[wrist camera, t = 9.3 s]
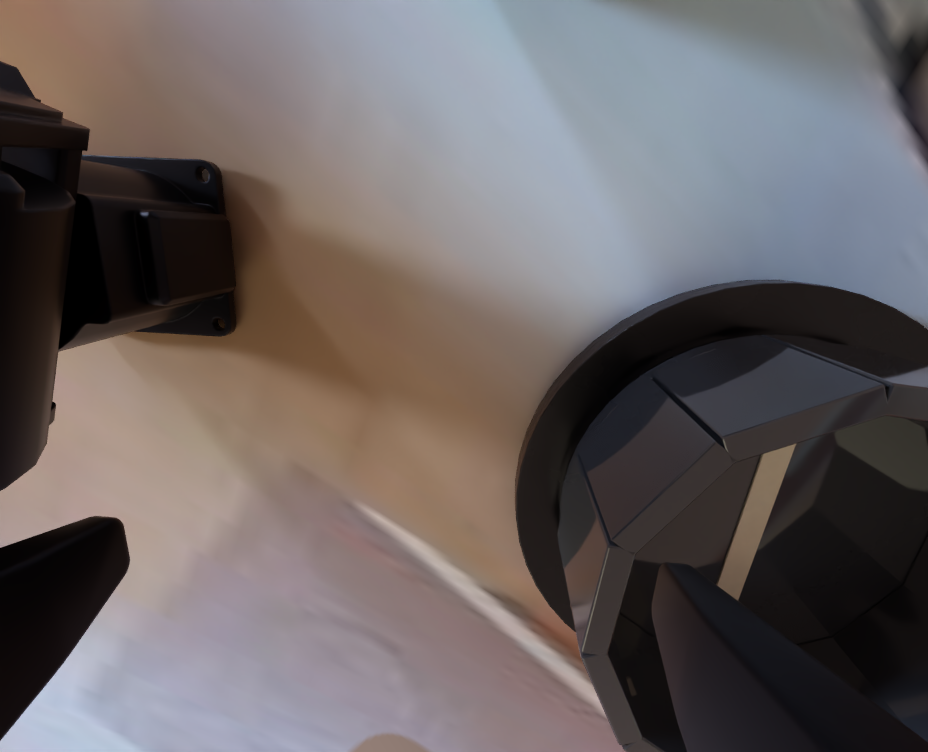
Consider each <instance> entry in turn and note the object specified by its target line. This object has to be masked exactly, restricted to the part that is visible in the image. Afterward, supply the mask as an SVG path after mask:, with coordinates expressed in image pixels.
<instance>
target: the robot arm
mask: <svg viewBox="0 0 928 752" xmlns="http://www.w3.org/2000/svg"><path fill="white" fill-rule="evenodd" d="M89 132H90V129H89V128H86V127H84V126H81V125H79V124H76V123H74V122H71V121H69V120H66V119H64V118H63V112H61V111H59V110H56V109H54V108H52V107H49V106H47V105H45V104H43V103H41V100H39V99H37V98H35V97H34V95H33V93H32V92H31V90H30V88H29V87H28V85H27V84H26V82H25V80H24V79H23V77H22V75H21V74H20V72H19V70H18V69H17V68H16V67H14V66H11V65H9V64H6V63H4V62H1V61H0V491H1V490H3V489H5V488H6V487H8V486H9V485H10V484H11V483H13V482H14V481H15V480H17V479H18V478H19V477H21V476H22V475H23V474H24V473H26V472H27V471H28V470H30V469H31V468H32V467H33V466H35V465H36V463H37V461H38V459H39V457H40V455H41V453H42V451H43V450H44V448H45V446H46V444H47V437H48V429H49V425H50V424H51V423H52V422H53V421H54V417H55V409H56V404H55V403H54V402H52V399H53V390H54V382H55V374H56V365H57V357H58V352H59V351H63V350H66V349H70V348H74V347H77V346H81V345H85V344H88V343H92V342H96V341H99V340H103V339H107V338H110V337H114V336H118V335H121V334H125V333H129V332H133V331H136V332H153V333H170V334H187V335H204V336H225V335H228V334H230V333H232V332H233V331H234V330H235V328H236V315H235V304H234V294H233V289H234V287H235V286H236V280H235V270H234V260H233V249H232V239H231V229H230V222H229V220H228V219H227V218H226V213H225V203H224V193H223V183H222V175H221V172H220V170H219V168H218V167H217V166H216V165H215V164H214V163H212V162H208V161H204V160H197V159H171V158H146V157H120V156H95V155H82V150H85V151H87V148H88V140H89ZM204 169H206V170H207V171H208V173H209V179H208V180H207V181H206V182H205V181H204V180H203V177H202V172H203V171H204ZM219 318H221V319H222V320H223V321H224V323H225V328H222V327H221V326H220V325H219V323H218V320H219ZM129 563H130V556H129V551H128V546H127V540H126V535H125V530H124V526H123V523H122V522H121V521H120V520H119V519H117V518H113V517H101V516H93V517H89V518H86V519H83V520H80V521H77V522H74V523H71V524H68V525H65V526H63V527H60V528H57V529H54V530H51V531H48V532H45V533H42V534H39V535H36V536H33V537H31V538H28V539H25V540H22V541H19V542H16V543H13V544H10V545H7V546H4V547H2V548H0V741H1V739H2V738H3V737H4V736H5V734H6V733H7V732H8V731H9V730H10V728H11V727H12V726H13V725H14V723H15V722H16V721H17V720H18V719H19V717H20V716H21V715H22V714H23V712H24V711H25V710H26V709H27V708H28V706H29V705H30V704H31V703H32V701H33V700H34V699H35V698H36V696H37V695H38V694H39V693H40V692H41V690H42V689H43V688H44V687H45V685H46V684H47V683H48V682H49V681H50V679H51V678H52V677H53V676H54V674H55V673H56V672H57V670H58V669H59V668H60V667H61V665H62V664H63V663H64V661H65V660H66V659H67V657H68V656H69V655H70V653H71V652H72V650H73V649H74V648H75V646H76V645H77V643H78V642H79V640H80V639H81V638H82V636H83V635H84V633H85V632H86V630H87V629H88V628H89V626H90V625H91V623H92V622H93V620H94V619H95V617H96V616H97V615H98V613H99V612H100V610H101V609H102V607H103V606H104V604H105V603H106V602H107V600H108V599H109V597H110V596H111V594H112V593H113V592H114V590H115V589H116V587H117V586H118V584H119V583H120V581H121V580H122V579H123V577H124V576H125V574H126V572H127V570H128V567H129ZM652 619H653V623H654V628H655V632H656V636H657V640H658V644H659V648H660V653H661V657H662V661H663V665H664V669H665V673H666V678H667V682H668V686H669V690H670V694H671V698H672V703H673V707H674V710H675V714H676V718H677V722H678V725H679V728H680V731H681V734H682V737H683V740H684V743H685V746H686V749H687V752H928V742H927V741H926V740H924V739H923V738H922V737H920V736H919V735H918V734H916V733H915V732H914V731H912V730H911V729H910V728H908V727H907V726H906V725H904V724H903V723H902V722H900V721H899V720H898V719H896V718H895V717H894V716H892V715H891V714H889V713H888V712H887V711H885V710H884V709H883V708H881V707H880V706H879V705H877V704H876V703H875V702H873V701H872V700H871V699H869V698H868V697H867V696H865V695H864V694H863V693H861V692H860V691H859V690H857V689H856V688H855V687H853V686H852V685H850V684H849V683H848V682H846V681H845V680H844V679H842V678H841V677H840V676H838V675H837V674H836V673H834V672H833V671H832V670H830V669H829V668H828V667H826V666H825V665H824V664H822V663H821V662H820V661H818V660H817V659H816V658H814V657H813V656H812V655H810V654H809V653H807V652H806V651H805V650H803V649H802V648H801V647H799V646H798V645H797V644H795V643H794V642H793V641H791V640H790V639H789V638H787V637H786V636H785V635H783V634H782V633H781V632H779V631H778V630H777V629H775V628H774V627H773V626H771V625H770V624H768V623H767V622H766V621H764V620H763V619H762V618H760V617H759V616H758V615H756V614H755V613H754V612H752V611H751V610H750V609H748V608H747V607H746V606H744V605H743V604H742V603H740V602H739V601H738V600H736V599H735V598H734V597H732V596H731V595H729V594H728V593H727V592H725V591H724V590H723V589H721V588H720V587H719V586H717V585H716V584H715V583H713V582H712V581H711V580H709V579H708V578H707V577H705V576H704V575H703V574H701V573H700V572H699V571H697V570H696V569H695V568H693V567H692V566H690V565H688V564H681V563H669V562H665V563H663V564H662V565H661V566H660V568H659V571H658V576H657V581H656V586H655V591H654V595H653V600H652Z"/></svg>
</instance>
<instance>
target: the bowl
mask: <svg viewBox="0 0 928 752" xmlns="http://www.w3.org/2000/svg"><path fill="white" fill-rule="evenodd" d="M557 536H558V544H559V549H560V554H561V559H562V564H563V569H564V574H565V579H566V585H567V590H568V595H569V600H570V605H571V610H572V615H573V620H574V625H575V630H576V635H577V640H578V645H579V651H580V656H581V659H582V661H583V664H584V666H585V668H586V670H587V673H588V675H589V677H590V680H591V682H592V684H593V686H594V689H595V691H596V693H597V696H598V698H599V700H600V703H601V705H602V707H603V709H604V712H605V714H606V716H607V719H608V721H609V723H610V725H611V728H612V730H613V732H614V735H615V737H616V739H617V741H618V743H619V744H620V745H622V747H623V749H624V750H625V751H626V752H687V749H686V746H685V743H684V740H683V737H682V734H681V731H680V728H679V725H678V722H677V718H676V714H675V710H674V707H673V703H672V698H671V694H670V690H669V686H668V682H667V678H666V673H665V669H664V665H663V661H662V657H661V653H660V648H659V644H658V640H657V636H656V632H655V628H654V623H653V619H652V600H653V595H654V591H655V586H656V581H657V576H658V571H659V568H660V566H661V565H662V564H663V563H665V562H669V563H681V564H688V565H690V566H692V567H693V568H695V569H696V570H697V571H699V572H700V573H701V574H703V575H704V576H705V577H707V578H708V579H709V580H711V581H712V582H713V583H715V584H716V585H717V586H719V587H720V588H721V589H723V590H724V591H725V592H727V593H728V594H729V595H731V596H732V597H734V598H735V599H736V600H738V601H739V602H740V603H742V604H743V605H744V606H746V607H747V608H748V609H750V610H751V611H752V612H754V613H755V614H756V615H758V616H759V617H760V618H762V619H763V620H764V621H766V622H767V623H768V624H770V625H771V626H773V627H774V628H775V629H777V630H778V631H779V632H781V633H782V634H783V635H785V636H786V637H787V638H789V639H790V640H791V641H793V642H794V643H795V644H797V645H798V646H799V647H801V648H802V649H803V650H805V651H806V652H807V653H809V654H810V655H812V656H813V657H814V658H816V659H817V660H818V661H820V662H821V663H822V664H824V665H825V666H826V667H828V668H829V669H830V670H832V671H833V672H834V673H836V674H837V675H838V676H840V677H841V678H842V679H844V680H845V681H846V682H848V683H849V684H850V685H852V686H853V687H855V688H856V689H857V690H859V691H860V692H861V693H863V694H864V695H865V696H867V697H868V698H869V699H871V700H872V701H873V702H875V703H876V704H877V705H879V706H880V707H881V708H883V709H884V710H885V711H887V712H888V713H889V714H891V715H892V716H894V717H895V718H896V719H898V720H899V721H900V722H902V723H903V724H904V725H906V726H907V727H908V728H910V729H911V730H912V731H914V732H915V733H916V734H918V735H919V736H920V737H922V738H923V739H924V740H926V741H927V742H928V366H926V365H923V364H919V363H916V362H913V361H910V360H907V359H903V358H900V357H897V356H894V355H890V354H887V353H884V352H881V351H878V350H874V349H871V348H864V347H856V346H849V345H842V344H835V343H832V342H829V341H824V340H819V339H814V338H809V337H805V336H793V335H779V334H772V335H769V334H763V335H753V336H744V337H738V338H732V339H727V340H721V341H717V342H714V343H711V344H707V345H704V346H701V347H697V348H694V349H692V350H689V351H687V352H685V353H682V354H680V355H677V356H675V357H673V358H670V359H668V360H667V361H665V362H663V363H661V364H660V365H658V366H656V367H654V368H653V369H651V370H649V371H647V372H646V373H644V374H643V375H641V376H640V377H639V378H637V379H636V380H635V381H633V382H632V383H631V384H629V385H628V386H627V387H625V388H624V389H623V390H622V391H621V392H620V393H619V394H618V395H617V396H615V397H614V398H613V399H612V400H611V401H610V402H609V403H608V404H607V405H606V406H605V407H604V408H603V410H602V411H601V412H600V413H599V415H598V416H597V417H596V418H595V419H594V421H593V422H592V423H591V424H590V426H589V427H588V429H587V431H586V432H585V434H584V435H583V437H582V439H581V440H580V442H579V443H578V445H577V448H576V450H575V452H574V454H573V456H572V459H571V461H570V463H569V466H568V469H567V472H566V476H565V479H564V483H563V488H562V495H561V502H560V524H559V528H558V533H557Z"/></svg>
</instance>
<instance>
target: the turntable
mask: <svg viewBox="0 0 928 752" xmlns="http://www.w3.org/2000/svg"><path fill="white" fill-rule="evenodd" d="M763 334H769V335H772V334H779V335H793V336H805V337H809V338H814V339H819V340H824V341H829V342H832V343H835V344H842V345H849V346H856V347H864V348H871V349H874V350H878V351H881V352H884V353H887V354H890V355H894V356H897V357H900V358H903V359H907V360H910V361H913V362H916V363H919V364H923V365H926V366H928V330H927V329H926V328H925V327H924V326H922V325H921V324H920V323H918V322H916V321H915V320H913V319H911V318H910V317H908V316H907V315H905V314H903V313H902V312H900V311H898V310H897V309H895V308H893V307H891V306H888V305H886V304H884V303H881V302H879V301H876V300H874V299H872V298H869V297H867V296H864V295H861V294H857V293H853V292H849V291H845V290H841V289H838V288H834V287H829V286H823V285H817V284H810V283H802V282H793V281H784V280H745V281H737V282H730V283H723V284H716V285H711V286H707V287H703V288H699V289H696V290H692V291H688V292H684V293H681V294H678V295H676V296H673V297H671V298H668V299H666V300H663V301H661V302H658V303H656V304H653V305H651V306H648V307H647V308H645V309H643V310H641V311H639V312H637V313H636V314H634V315H632V316H630V317H628V318H626V319H625V320H623V321H621V322H619V323H618V324H617V325H615V326H614V327H612V328H611V329H610V330H608V331H607V332H605V333H604V334H603V335H601V336H600V337H598V338H597V339H596V340H594V341H593V342H592V343H591V344H590V345H589V346H588V347H587V348H586V349H585V350H584V351H582V352H581V353H580V354H579V355H578V356H577V357H576V358H575V359H574V360H573V361H572V362H571V363H570V364H569V365H568V367H567V368H566V369H565V370H564V371H563V372H562V374H561V375H560V376H559V377H558V378H557V379H556V381H555V382H554V383H553V385H552V386H551V388H550V389H549V391H548V392H547V394H546V395H545V397H544V398H543V400H542V402H541V403H540V405H539V406H538V408H537V410H536V412H535V415H534V417H533V419H532V421H531V423H530V425H529V427H528V429H527V432H526V435H525V438H524V442H523V445H522V448H521V451H520V454H519V460H518V466H517V472H516V479H515V510H516V521H517V528H518V536H519V542H520V546H521V549H522V552H523V556H524V559H525V562H526V565H527V567H528V569H529V572H530V574H531V576H532V578H533V580H534V582H535V584H536V586H537V588H538V589H539V591H540V592H541V594H542V595H543V597H544V598H545V600H546V601H547V603H548V604H549V606H550V607H551V608H552V609H553V610H554V611H555V612H556V614H557V615H558V616H559V617H560V618H561V619H562V620H563V621H564V623H565V624H567V625H568V626H569V627H570V628H571V629H572V630H574V631H575V632H576V630H575V625H574V620H573V615H572V610H571V605H570V600H569V595H568V590H567V585H566V579H565V574H564V569H563V564H562V559H561V554H560V549H559V544H558V536H557V533H558V528H559V524H560V502H561V495H562V488H563V483H564V479H565V476H566V472H567V469H568V466H569V463H570V461H571V459H572V456H573V454H574V452H575V450H576V448H577V445H578V443H579V442H580V440H581V439H582V437H583V435H584V434H585V432H586V431H587V429H588V427H589V426H590V424H591V423H592V422H593V421H594V419H595V418H596V417H597V416H598V415H599V413H600V412H601V411H602V410H603V408H604V407H605V406H606V405H607V404H608V403H609V402H610V401H611V400H612V399H613V398H614V397H615V396H617V395H618V394H619V393H620V392H621V391H622V390H623V389H624V388H625V387H627V386H628V385H629V384H631V383H632V382H633V381H635V380H636V379H637V378H639V377H640V376H641V375H643V374H644V373H646V372H647V371H649V370H651V369H653V368H654V367H656V366H658V365H660V364H661V363H663V362H665V361H667V360H668V359H670V358H673V357H675V356H677V355H680V354H682V353H685V352H687V351H689V350H692V349H694V348H697V347H701V346H704V345H707V344H711V343H714V342H717V341H721V340H727V339H732V338H738V337H744V336H753V335H763Z"/></svg>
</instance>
